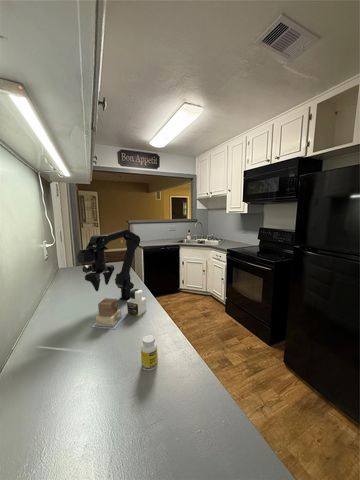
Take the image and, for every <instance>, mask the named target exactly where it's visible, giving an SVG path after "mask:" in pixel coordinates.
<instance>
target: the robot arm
mask: <svg viewBox="0 0 360 480" xmlns="http://www.w3.org/2000/svg"><path fill="white" fill-rule="evenodd" d="M121 238H123V240H125V246H126V251H125V255H124V258H123V263H122V266H121V270H120V272H119V273H118V272H117V273H116V276H115V278H114V283H115V285H116V286H117V288H118V289H120V295H121V296H120V297H119V298H118V299H119V300H121V301H122V300H123V301H124V300H125V301H128V300H130V292H131V291H132V290H133V289H135V288H134V286H135V284H134V283H133V282H132V281H131V279H132V278H131V273H130V271H131V267H132V264H133V260H134V255H135V252H136V249H138V247H139V245H140V243H141V238H140V236H139V235H137V234H136V233H134V232H132V231H130V230H129V229H127V228H126V229H125V228H122V229H120V230H115V231H112V232H110V233H106V234H96V235H95V234H94V235H92V236H90V239H89V241H88V243H87V245H86V247H85V248H84V249H81V248H80V249H78V254H77V255H76V258H77V262H78V263H79V264H80V265H81V264H82V265H83V264H85V265H83V266H82V268H81V269H82V272H83V273H85V276H84V281H87V282H89V283H90V284H91V285H92V286H93V289H94V290H95V292H99V290H100V284H101V275H103V279H104V283H105V286H107V285H108V284H109V283H110V279H111V277H112V275H113V273H114V271H115V266H114V265H113V264H111V265H110V264H106V263H107V262H108V259H106V253H105V252H106V250H109V248H108V247H107V246H106V245H108V244H109V243H110V242H112V241H115V240H117V239H121ZM86 263H91V264H90V265H86Z"/></svg>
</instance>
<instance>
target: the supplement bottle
mask: <svg viewBox="0 0 360 480" xmlns="http://www.w3.org/2000/svg"><path fill="white" fill-rule="evenodd" d="M155 340H156V337H155V336H154V335H151V334H149V335H145V336H143V337H142V343H141V345H140V360H141V368H142V369H143V370H144V371H153V370H155V369H156V368H157V367H158V364H159V360H158V343H157V342H156V341H155Z"/></svg>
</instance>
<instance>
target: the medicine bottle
mask: <svg viewBox="0 0 360 480" xmlns="http://www.w3.org/2000/svg"><path fill="white" fill-rule="evenodd" d="M147 306H148V305H147V297H143V290H142V289H140V288H133V289H131V292H130V300H126V307H127V309H126V310H127V314H128V315H133V316H136V317H140V316H141V315H142V314H144V313H145V312H147V308H148V307H147Z"/></svg>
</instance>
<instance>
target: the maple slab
mask: <svg viewBox="0 0 360 480" xmlns="http://www.w3.org/2000/svg"><path fill="white" fill-rule="evenodd" d="M117 310H118V311H117V312H116V313H115V314H114V315H113V316H112V317H104V316H99V314H98V315H97V316H96V317H95V323H96V322H97V325H98V326H111V327H113V326H114V325H115V324H116V323H117V321H118V320H119V319H120V318H121V315H122V314H121V313H122V311H121V309H117Z"/></svg>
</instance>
